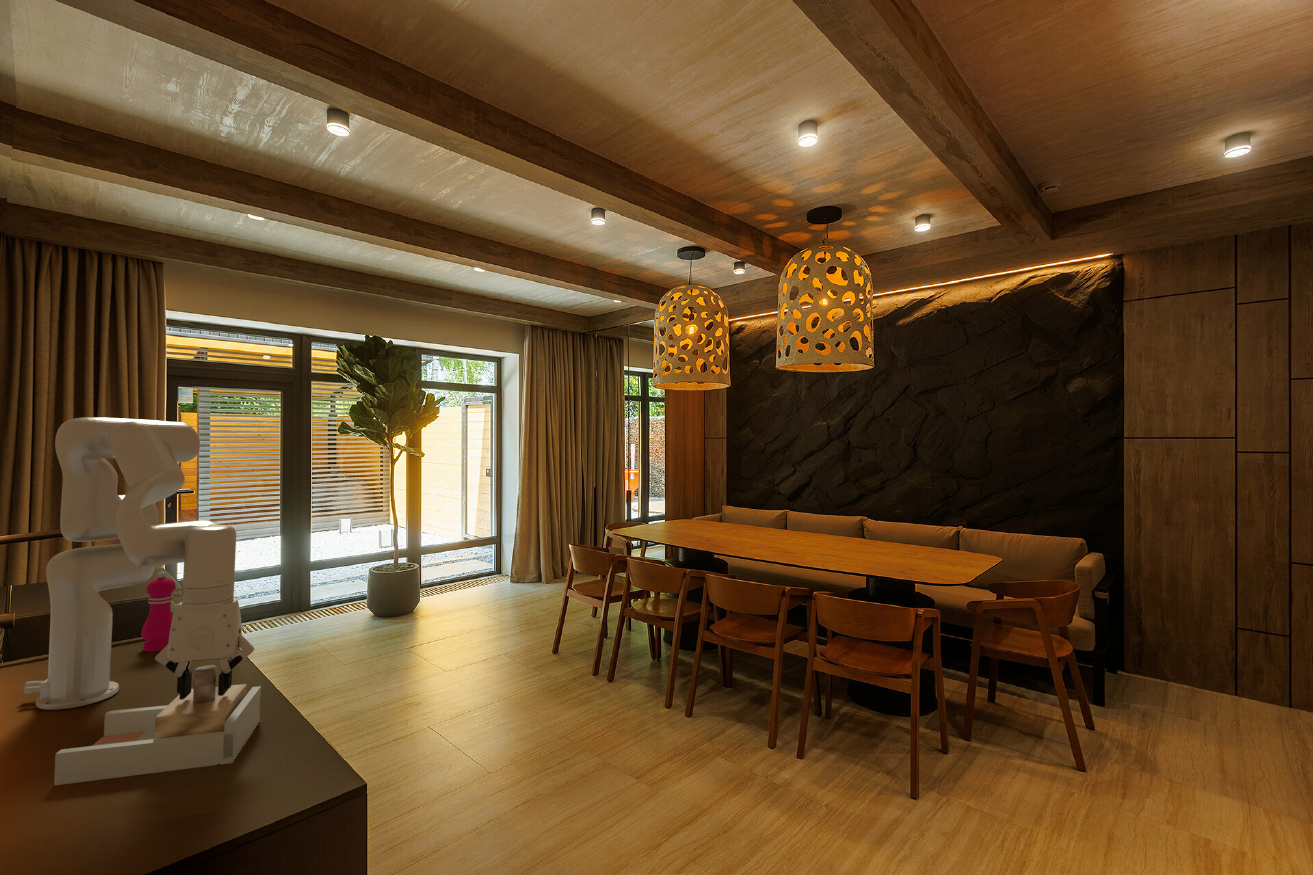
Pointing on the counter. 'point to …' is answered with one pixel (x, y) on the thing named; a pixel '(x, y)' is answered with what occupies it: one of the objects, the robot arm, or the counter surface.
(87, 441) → the robot arm
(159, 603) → the pepper mill
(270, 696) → the counter surface
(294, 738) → the counter surface
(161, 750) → the bay
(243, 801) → the counter surface
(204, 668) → the wooden block with knob
